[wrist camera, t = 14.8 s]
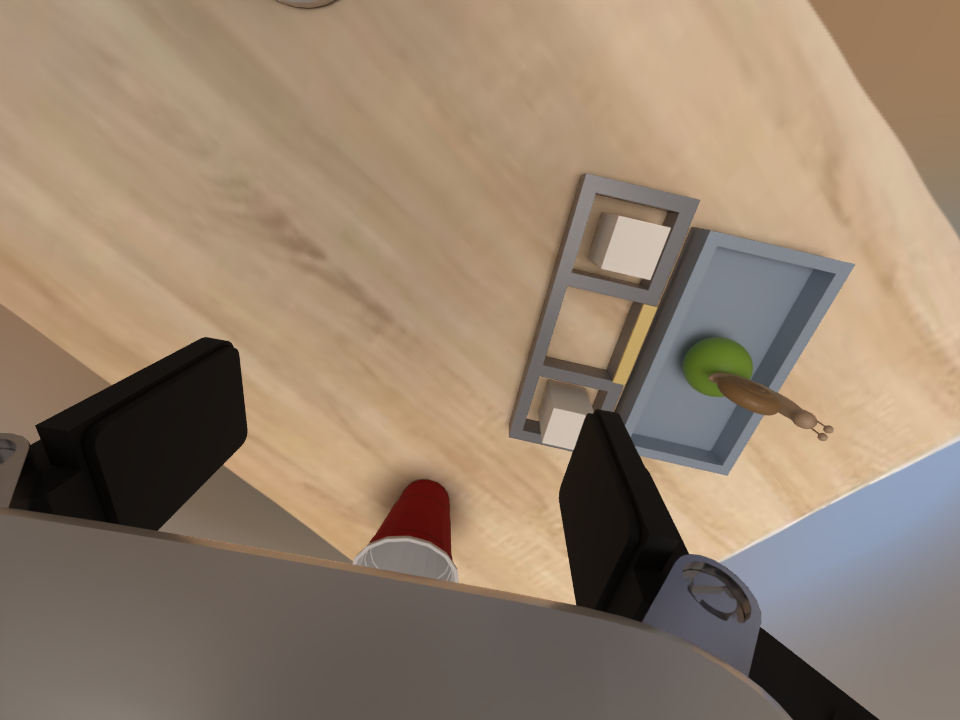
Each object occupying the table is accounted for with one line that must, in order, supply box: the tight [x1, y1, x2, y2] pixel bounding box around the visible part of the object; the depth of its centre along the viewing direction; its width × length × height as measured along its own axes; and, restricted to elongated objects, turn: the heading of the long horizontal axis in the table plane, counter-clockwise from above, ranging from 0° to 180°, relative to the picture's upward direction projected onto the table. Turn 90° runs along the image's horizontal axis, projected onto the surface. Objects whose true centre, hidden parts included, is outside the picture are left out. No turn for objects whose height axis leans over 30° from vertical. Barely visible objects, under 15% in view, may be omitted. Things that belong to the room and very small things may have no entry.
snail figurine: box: [683, 337, 834, 441], centre depth 32 cm, size 5×6×12 cm
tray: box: [615, 227, 855, 475], centre depth 37 cm, size 22×12×4 cm, turn 168°
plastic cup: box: [353, 480, 459, 583], centre depth 43 cm, size 11×11×12 cm
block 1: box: [538, 379, 594, 450], centre depth 39 cm, size 4×4×6 cm
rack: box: [509, 173, 700, 452], centre depth 37 cm, size 26×9×3 cm, turn 168°
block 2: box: [588, 213, 671, 280], centre depth 32 cm, size 4×4×6 cm
